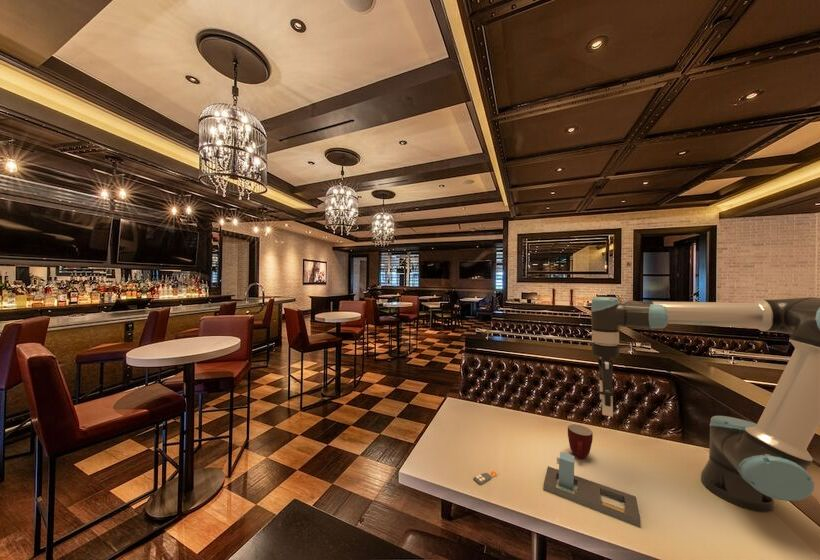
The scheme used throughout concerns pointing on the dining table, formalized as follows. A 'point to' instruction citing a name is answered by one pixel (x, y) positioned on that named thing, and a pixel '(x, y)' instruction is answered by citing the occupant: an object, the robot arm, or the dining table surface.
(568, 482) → the plug
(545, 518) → the dining table surface
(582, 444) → the mug
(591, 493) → the panel
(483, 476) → the key chain
